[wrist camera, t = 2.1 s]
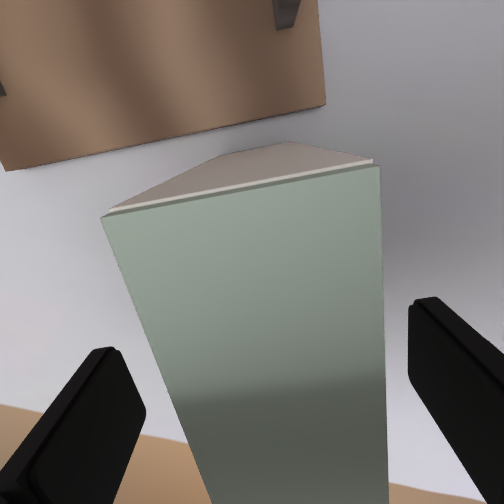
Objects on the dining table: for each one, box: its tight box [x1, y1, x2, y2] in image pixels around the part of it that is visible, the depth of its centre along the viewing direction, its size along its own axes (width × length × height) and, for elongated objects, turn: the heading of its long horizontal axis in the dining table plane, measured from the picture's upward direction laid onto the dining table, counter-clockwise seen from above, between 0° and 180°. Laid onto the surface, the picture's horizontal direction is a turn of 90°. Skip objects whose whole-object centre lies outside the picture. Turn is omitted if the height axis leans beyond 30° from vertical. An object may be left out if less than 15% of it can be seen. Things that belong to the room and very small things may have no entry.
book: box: [100, 142, 389, 504], centre depth 13 cm, size 4×12×14 cm, turn 11°
